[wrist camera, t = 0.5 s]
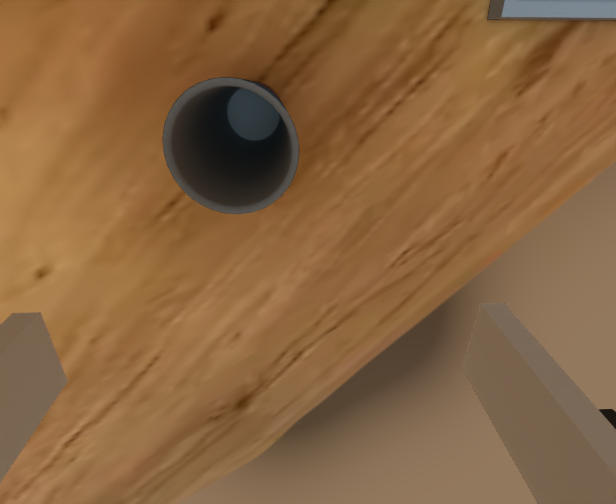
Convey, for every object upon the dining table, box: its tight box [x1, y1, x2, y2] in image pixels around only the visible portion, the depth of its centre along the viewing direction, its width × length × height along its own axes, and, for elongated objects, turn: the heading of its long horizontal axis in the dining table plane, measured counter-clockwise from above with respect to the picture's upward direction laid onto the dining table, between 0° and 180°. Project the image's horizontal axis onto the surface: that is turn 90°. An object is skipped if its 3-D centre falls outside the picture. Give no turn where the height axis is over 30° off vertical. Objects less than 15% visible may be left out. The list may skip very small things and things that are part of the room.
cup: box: [163, 77, 299, 214], centre depth 26 cm, size 7×7×15 cm
